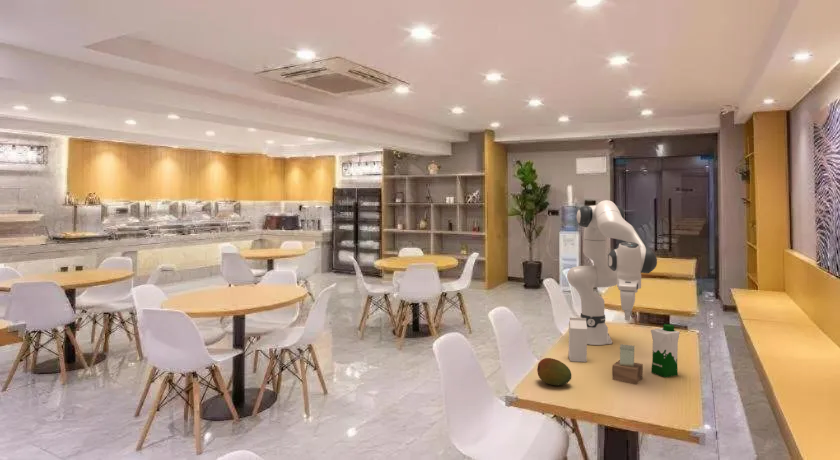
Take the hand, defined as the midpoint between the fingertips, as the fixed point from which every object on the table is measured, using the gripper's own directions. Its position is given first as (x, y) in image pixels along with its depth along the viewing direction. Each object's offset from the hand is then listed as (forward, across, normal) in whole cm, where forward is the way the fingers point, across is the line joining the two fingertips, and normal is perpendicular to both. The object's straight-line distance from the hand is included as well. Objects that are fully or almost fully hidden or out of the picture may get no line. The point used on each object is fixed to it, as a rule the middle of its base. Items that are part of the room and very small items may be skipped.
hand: (628, 317), depth 193 cm
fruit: (+25, +19, -25) cm, 40 cm away
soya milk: (+25, -13, +13) cm, 31 cm away
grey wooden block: (+19, 0, 0) cm, 19 cm away
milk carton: (+25, -17, -22) cm, 37 cm away
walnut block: (+25, 0, 0) cm, 25 cm away
